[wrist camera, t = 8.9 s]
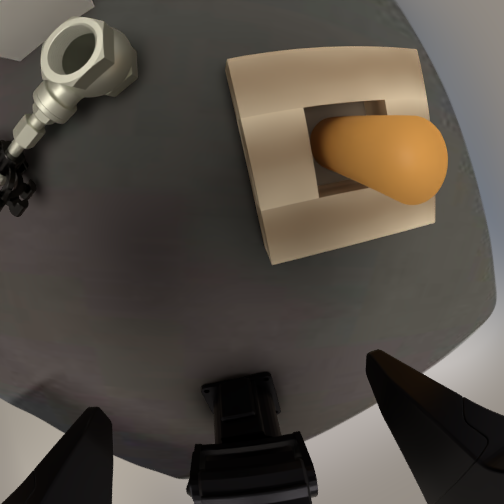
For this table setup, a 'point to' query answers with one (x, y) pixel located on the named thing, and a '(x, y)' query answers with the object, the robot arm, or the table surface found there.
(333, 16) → the table surface
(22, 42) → the corner bracket
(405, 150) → the peg
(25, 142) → the valve
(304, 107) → the socket block
